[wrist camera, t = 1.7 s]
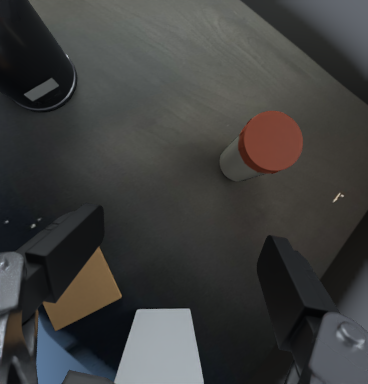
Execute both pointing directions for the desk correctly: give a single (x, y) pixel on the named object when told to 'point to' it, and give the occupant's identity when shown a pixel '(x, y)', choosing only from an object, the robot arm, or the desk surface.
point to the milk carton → (160, 349)
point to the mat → (84, 293)
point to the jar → (235, 164)
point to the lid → (270, 142)
